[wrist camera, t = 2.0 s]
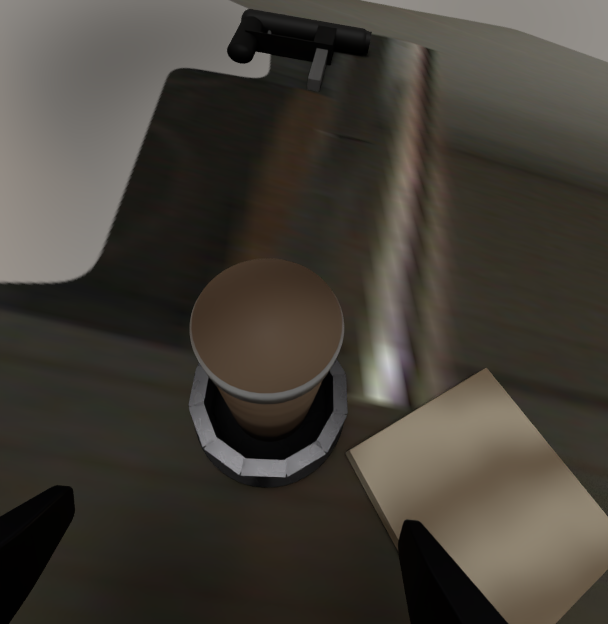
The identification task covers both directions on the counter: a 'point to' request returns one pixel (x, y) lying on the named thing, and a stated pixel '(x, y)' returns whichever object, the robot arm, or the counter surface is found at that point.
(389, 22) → the counter surface
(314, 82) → the door handle
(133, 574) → the counter surface
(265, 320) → the tapered cup
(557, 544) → the beige cloth napkin
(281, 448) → the cup
